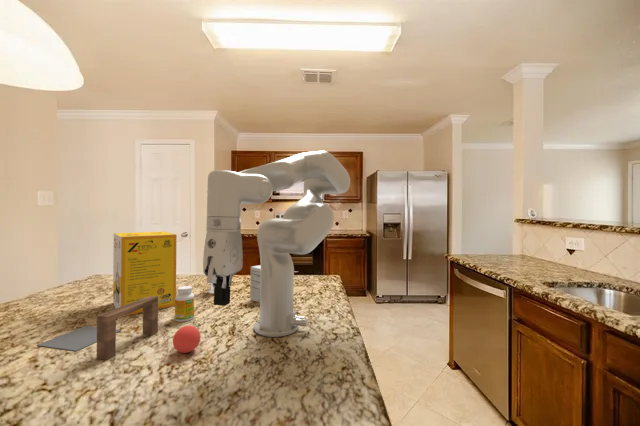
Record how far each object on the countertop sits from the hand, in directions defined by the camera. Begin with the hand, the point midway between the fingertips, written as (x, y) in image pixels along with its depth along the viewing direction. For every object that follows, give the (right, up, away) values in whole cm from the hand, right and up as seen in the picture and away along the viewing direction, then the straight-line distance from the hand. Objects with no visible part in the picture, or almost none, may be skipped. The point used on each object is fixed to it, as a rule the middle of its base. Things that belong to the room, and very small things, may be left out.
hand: (221, 304), depth 67 cm
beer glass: (-19, -12, +52) cm, 56 cm away
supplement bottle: (-19, -12, +23) cm, 32 cm away
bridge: (-25, -12, +6) cm, 28 cm away
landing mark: (-40, -12, +9) cm, 42 cm away
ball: (-9, -9, +3) cm, 13 cm away
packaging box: (-39, -12, +35) cm, 54 cm away
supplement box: (+1, -12, +43) cm, 45 cm away
